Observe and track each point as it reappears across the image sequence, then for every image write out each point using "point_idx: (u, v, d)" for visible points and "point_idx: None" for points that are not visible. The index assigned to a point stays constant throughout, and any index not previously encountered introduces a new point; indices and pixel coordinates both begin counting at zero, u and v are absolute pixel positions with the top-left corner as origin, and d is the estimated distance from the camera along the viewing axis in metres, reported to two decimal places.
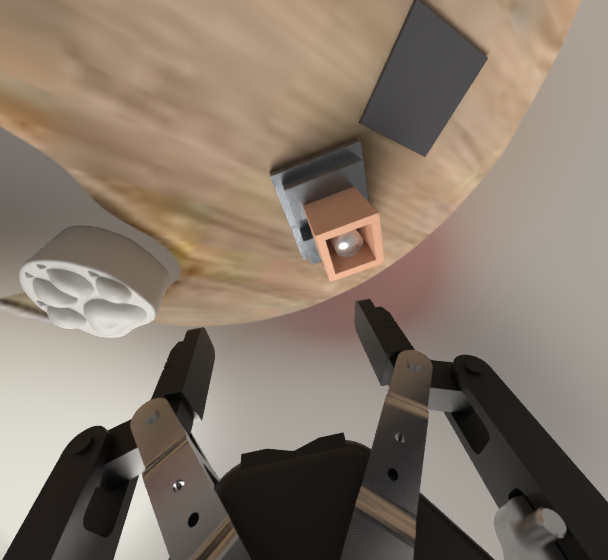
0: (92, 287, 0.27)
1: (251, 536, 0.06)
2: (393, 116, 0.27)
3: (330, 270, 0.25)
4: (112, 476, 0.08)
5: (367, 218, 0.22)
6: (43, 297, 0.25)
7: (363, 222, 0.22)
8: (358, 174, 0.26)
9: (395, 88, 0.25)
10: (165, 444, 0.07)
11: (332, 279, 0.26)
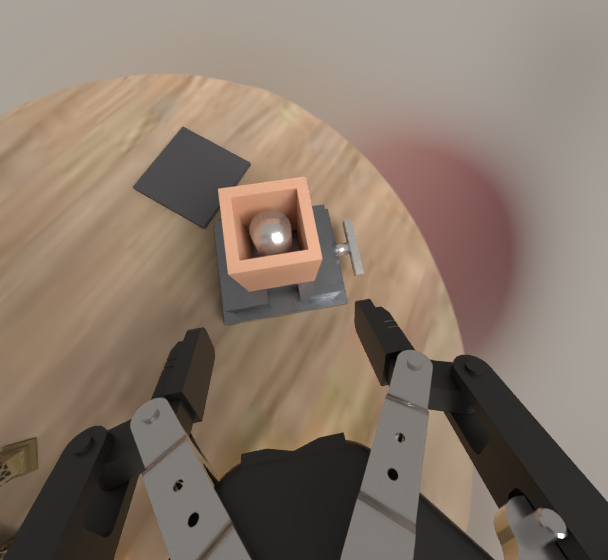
0: None
1: (251, 536, 0.06)
2: (204, 197, 0.28)
3: (298, 256, 0.16)
4: (112, 476, 0.08)
5: (222, 203, 0.16)
6: None
7: (226, 207, 0.16)
8: None
9: (184, 197, 0.28)
10: (165, 444, 0.07)
11: (318, 254, 0.16)
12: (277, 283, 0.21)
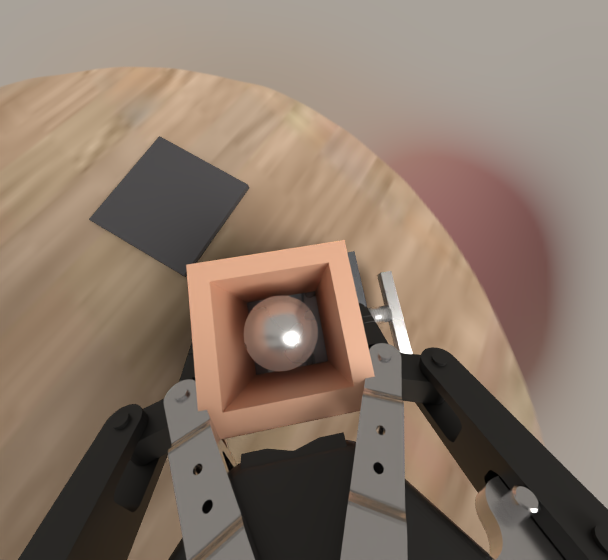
0: None
1: (259, 536, 0.06)
2: (186, 233, 0.21)
3: (335, 402, 0.08)
4: (143, 454, 0.08)
5: (193, 292, 0.09)
6: None
7: (201, 302, 0.09)
8: None
9: (158, 233, 0.21)
10: (191, 425, 0.08)
11: None
12: None
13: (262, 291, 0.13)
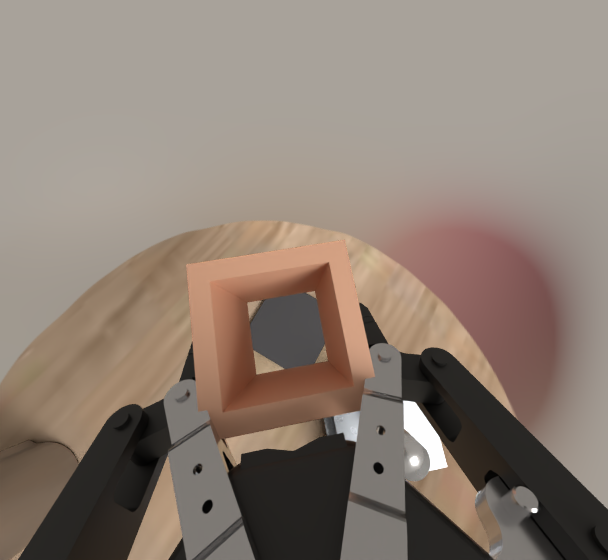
0: None
1: (259, 536, 0.06)
2: (304, 350, 0.32)
3: (335, 402, 0.08)
4: (143, 454, 0.08)
5: (193, 291, 0.09)
6: None
7: (201, 302, 0.09)
8: None
9: (285, 350, 0.32)
10: (191, 425, 0.08)
11: None
12: None
13: (262, 291, 0.13)
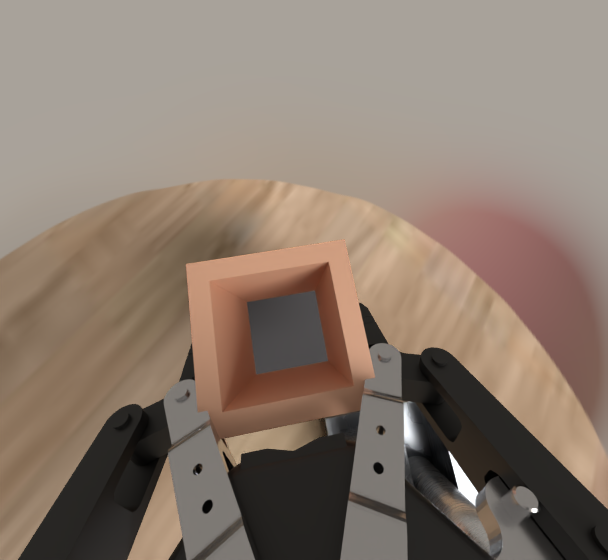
0: None
1: (259, 536, 0.06)
2: None
3: (335, 402, 0.08)
4: (143, 454, 0.08)
5: (193, 291, 0.09)
6: None
7: (200, 301, 0.09)
8: None
9: (277, 366, 0.21)
10: (191, 425, 0.08)
11: None
12: None
13: (262, 290, 0.13)
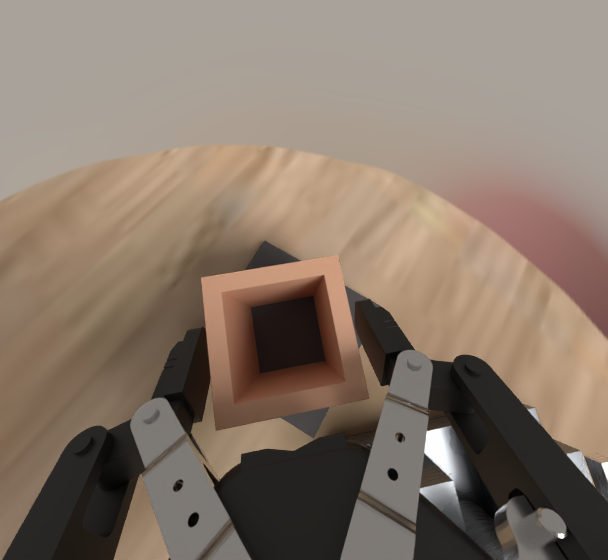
0: None
1: (251, 536, 0.06)
2: None
3: (330, 395, 0.10)
4: (112, 476, 0.08)
5: (207, 301, 0.10)
6: None
7: (214, 310, 0.10)
8: None
9: None
10: (165, 444, 0.07)
11: (362, 391, 0.10)
12: None
13: (265, 298, 0.14)
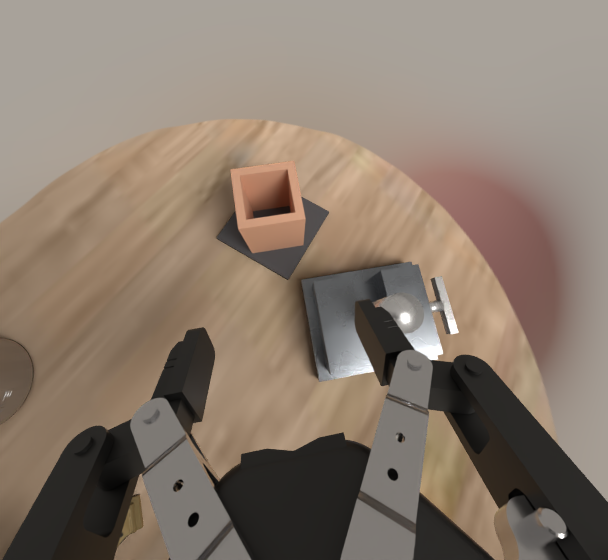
0: None
1: (251, 536, 0.06)
2: (287, 248, 0.29)
3: (288, 217, 0.22)
4: (112, 476, 0.08)
5: (233, 179, 0.23)
6: None
7: (236, 183, 0.23)
8: (327, 286, 0.24)
9: None
10: (165, 444, 0.07)
11: (302, 216, 0.22)
12: (274, 245, 0.27)
13: (261, 195, 0.27)
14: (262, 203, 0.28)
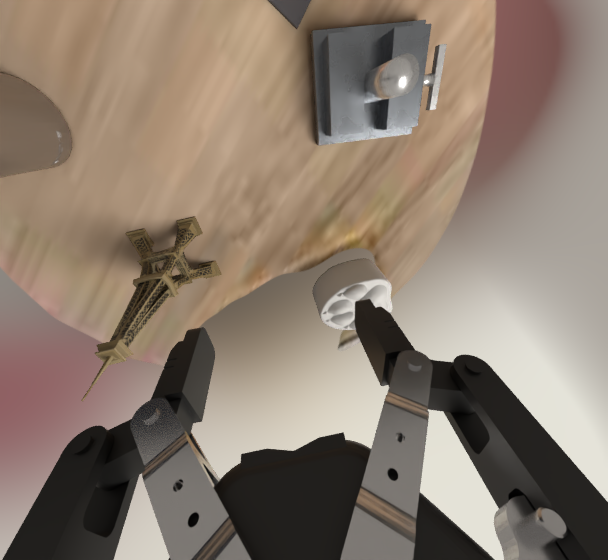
0: (347, 300, 0.40)
1: (251, 536, 0.06)
2: None
3: None
4: (112, 476, 0.08)
5: None
6: (341, 323, 0.41)
7: None
8: (340, 41, 0.25)
9: None
10: (165, 444, 0.07)
11: None
12: None
13: None
14: None
